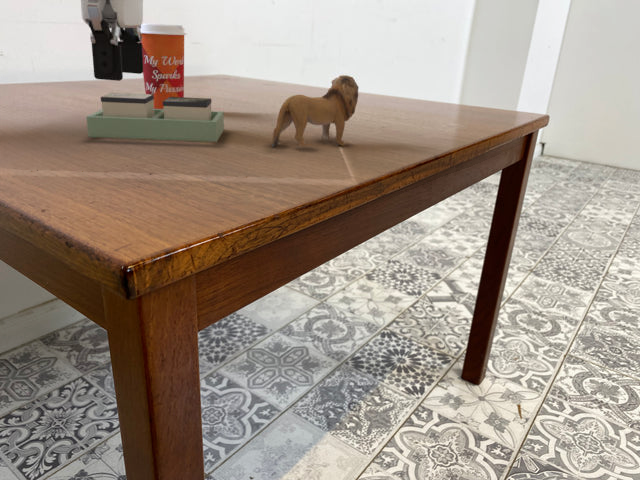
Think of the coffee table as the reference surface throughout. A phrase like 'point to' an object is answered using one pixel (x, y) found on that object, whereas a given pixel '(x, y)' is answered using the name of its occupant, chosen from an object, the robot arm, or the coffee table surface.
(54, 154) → the coffee table surface
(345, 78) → the lion figurine
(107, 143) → the coffee table surface
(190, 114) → the pad
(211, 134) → the green divided tray
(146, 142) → the coffee table surface
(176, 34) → the paper cup
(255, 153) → the coffee table surface
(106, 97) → the cream block
